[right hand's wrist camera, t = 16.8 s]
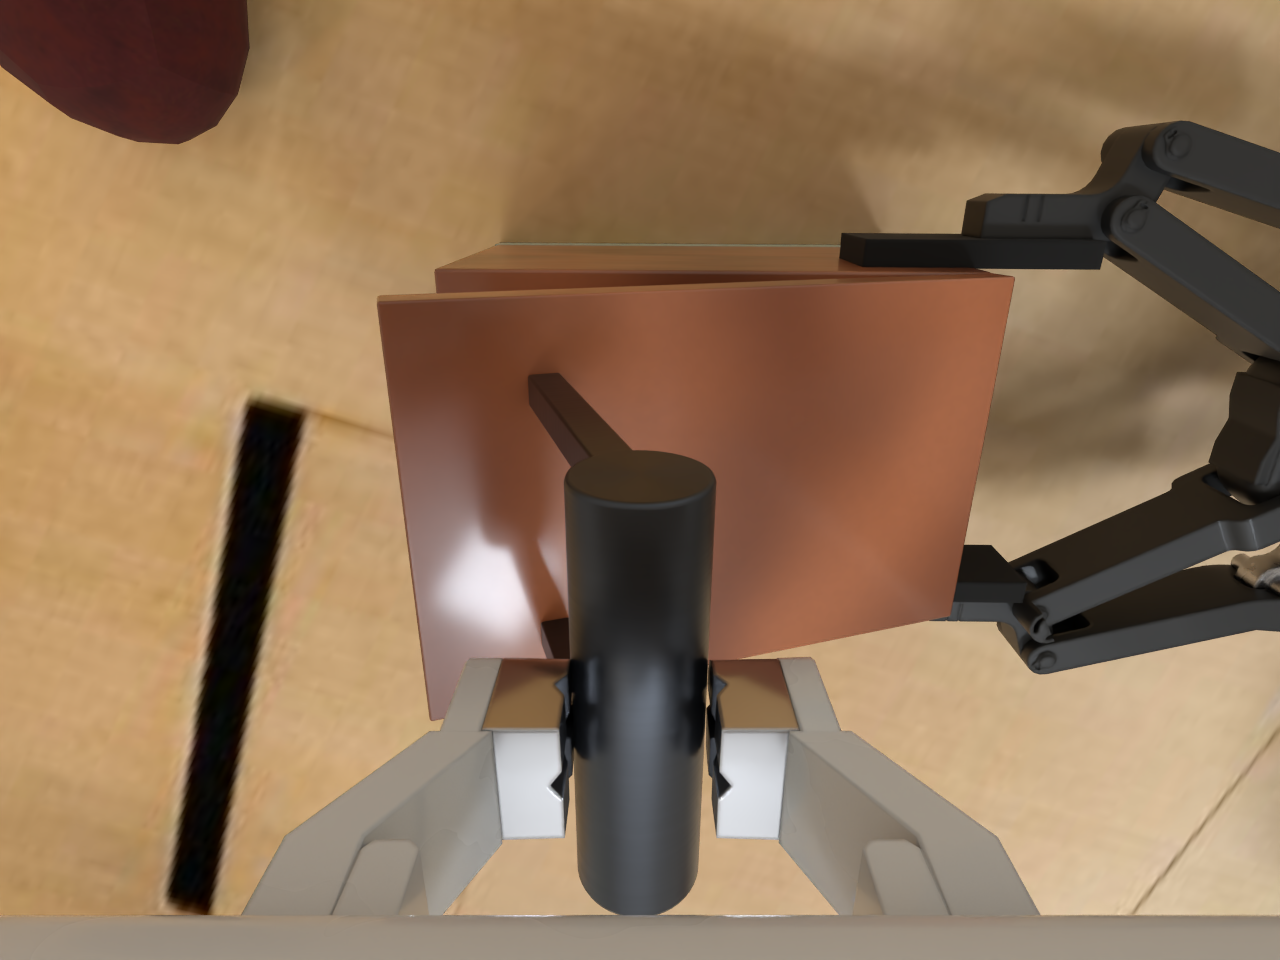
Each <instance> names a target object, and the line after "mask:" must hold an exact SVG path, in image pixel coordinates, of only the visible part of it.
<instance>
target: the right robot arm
mask: <svg viewBox="0 0 1280 960" xmlns="http://www.w3.org/2000/svg"><path fill="white" fill-rule="evenodd" d="M708 691H709V699H710V705H709V706H708V707H707V708H706V750H707V763H708V772H709V775H710V776H711V777H712V806H713V814H714V822H715V829H716V837H717V838H735V839H771V840H779V844H780V845H781V846H782V847H783V848H784V849H785V851H786V852H787V853H788V854H789V855H790V857H791V858H792V859H793V860H794V861H795V863H796V864H797V865H798V866H799V867H800V869H801V870H802V871H803V872H804V873H805V875H806V876H807V877H808V878H809V879H810V881H811V882H812V883H813V884H814V885H815V887H816V888H817V889H818V890H819V891H820V893H821V894H822V895H823V896H824V897H825V899H826V900H827V901H828V902H829V903H830V905H831V906H832V907H833V908H834V909H835V911H836V912H837V913H838V914H839V915H443V914H444V912H445V911H446V910H447V909H448V908H449V906H450V905H451V904H452V903H453V902H454V900H455V899H456V898H457V897H458V896H459V894H460V893H461V892H462V891H463V890H464V889H465V887H466V886H467V885H468V884H469V883H470V881H471V880H472V879H473V878H474V877H475V875H476V874H477V873H478V872H479V871H480V869H481V868H482V867H483V866H484V865H485V863H486V862H487V861H488V860H489V859H490V857H491V856H492V855H493V854H494V853H495V851H496V850H497V849H498V848H499V847H500V845H501V844H502V840H510V839H544V838H565V831H566V823H567V815H568V806H569V777H570V776H571V775H572V772H573V762H574V719H573V713H572V705H571V699H572V671H571V659H546V658H504V659H503V658H470V659H469V660H468V661H467V662H466V663H465V665H464V667H463V670H462V673H461V675H460V678H459V681H458V684H457V686H456V689H455V692H454V694H453V697H452V700H451V702H450V705H449V708H448V710H447V713H446V716H445V718H444V721H443V724H442V726H441V729H440V731H429V732H428V733H427V734H425V735H424V736H422V737H421V738H420V739H418V740H417V741H415V742H414V743H413V744H411V745H410V746H409V747H407V748H406V749H404V750H403V751H402V752H400V753H399V754H397V755H396V756H395V757H393V758H392V759H391V760H389V761H388V762H386V763H385V764H384V765H382V766H381V767H380V768H378V769H377V770H375V771H374V772H373V773H371V774H370V775H368V776H367V777H366V778H364V779H363V780H362V781H360V782H359V783H357V784H356V785H355V786H353V787H352V788H351V789H349V790H348V791H346V792H345V793H344V794H342V795H341V796H339V797H338V798H337V799H335V800H334V801H333V802H331V803H330V804H328V805H327V806H326V807H324V808H323V809H322V810H320V811H319V812H317V813H316V814H315V815H313V816H312V817H310V818H309V819H308V820H306V821H305V822H304V823H302V824H301V825H299V826H298V827H297V828H295V829H294V830H293V831H291V832H290V833H288V834H287V835H286V836H285V837H284V838H283V840H282V842H281V844H280V846H279V847H278V849H277V851H276V853H275V855H274V857H273V858H272V860H271V862H270V864H269V866H268V867H267V869H266V871H265V873H264V875H263V876H262V878H261V880H260V882H259V884H258V885H257V887H256V889H255V891H254V893H253V894H252V896H251V898H250V900H249V902H248V903H247V905H246V907H245V909H244V911H243V912H242V914H241V915H0V960H1280V915H1040V913H1039V911H1038V910H1037V908H1036V906H1035V904H1034V902H1033V900H1032V899H1031V897H1030V895H1029V893H1028V891H1027V890H1026V888H1025V886H1024V884H1023V882H1022V880H1021V879H1020V877H1019V875H1018V873H1017V871H1016V870H1015V868H1014V866H1013V864H1012V862H1011V861H1010V859H1009V857H1008V855H1007V853H1006V851H1005V850H1004V848H1003V846H1002V844H1001V842H1000V841H999V839H998V837H997V836H995V835H994V834H993V833H991V832H990V831H988V830H987V829H986V828H984V827H983V826H982V825H980V824H979V823H977V822H976V821H975V820H973V819H972V818H970V817H969V816H968V815H966V814H965V813H964V812H962V811H961V810H959V809H958V808H957V807H955V806H954V805H953V804H951V803H950V802H948V801H947V800H946V799H944V798H943V797H942V796H940V795H939V794H937V793H936V792H935V791H933V790H932V789H931V788H929V787H928V786H926V785H925V784H924V783H922V782H921V781H920V780H918V779H917V778H915V777H914V776H913V775H911V774H910V773H908V772H907V771H906V770H904V769H903V768H902V767H900V766H899V765H897V764H896V763H895V762H893V761H892V760H891V759H889V758H888V757H886V756H885V755H884V754H882V753H881V752H880V751H878V750H877V749H875V748H874V747H873V746H871V745H870V744H869V743H867V742H866V741H864V740H863V739H862V738H860V737H859V736H857V735H856V734H855V733H853V732H852V731H841V729H840V726H839V723H838V721H837V718H836V716H835V713H834V710H833V708H832V705H831V702H830V700H829V697H828V694H827V692H826V689H825V687H824V684H823V681H822V679H821V676H820V673H819V671H818V668H817V665H816V663H815V660H813V659H812V658H811V657H796V658H777V659H736V660H709V667H708Z"/></svg>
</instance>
